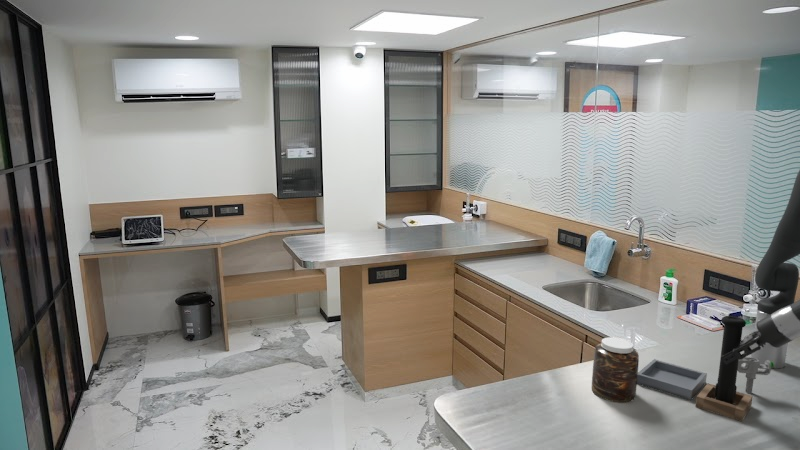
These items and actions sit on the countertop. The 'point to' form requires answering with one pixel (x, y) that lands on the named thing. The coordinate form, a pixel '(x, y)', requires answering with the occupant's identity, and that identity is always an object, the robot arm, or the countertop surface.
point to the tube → (728, 372)
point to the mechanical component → (753, 370)
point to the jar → (615, 370)
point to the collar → (724, 403)
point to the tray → (671, 379)
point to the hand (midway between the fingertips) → (727, 356)
